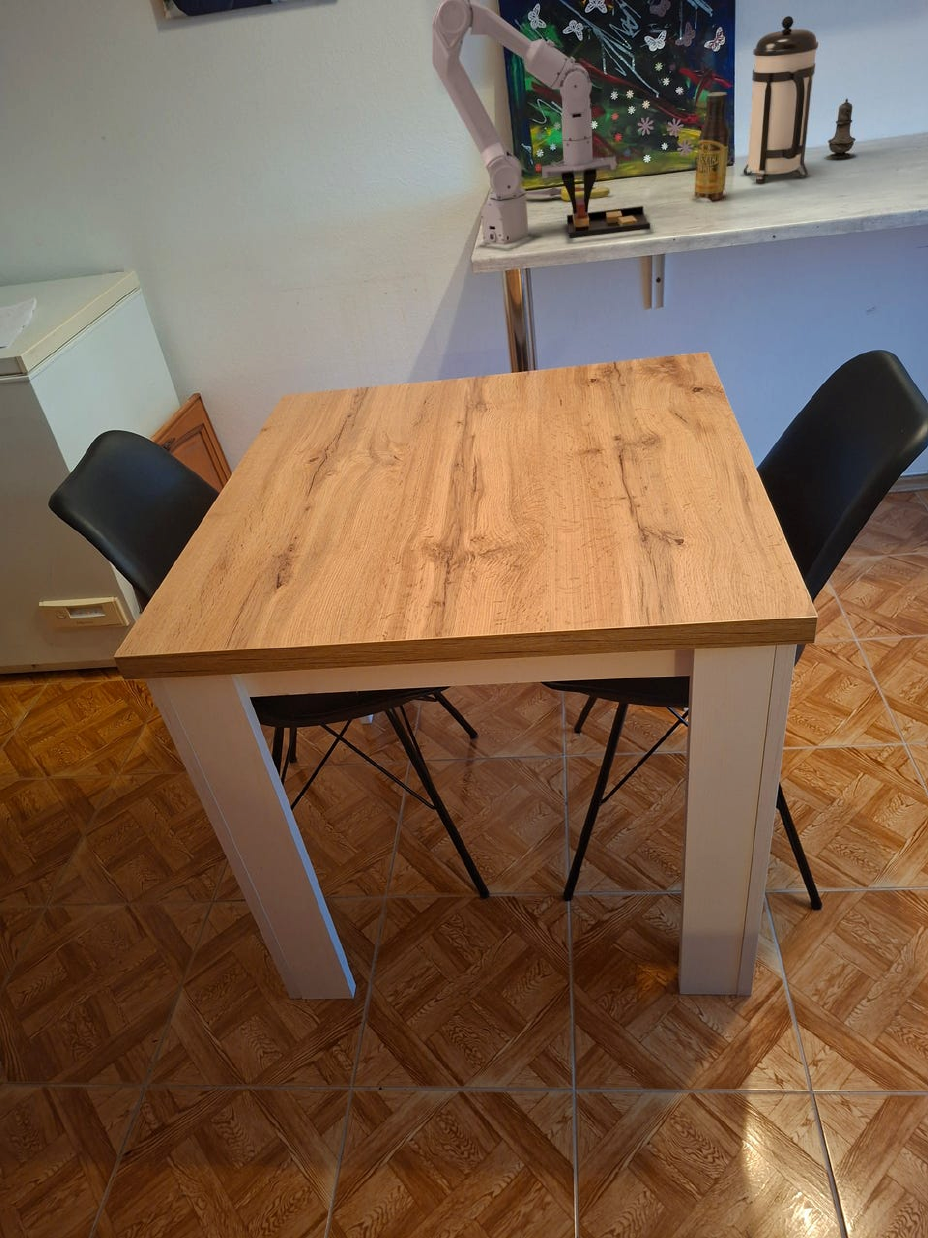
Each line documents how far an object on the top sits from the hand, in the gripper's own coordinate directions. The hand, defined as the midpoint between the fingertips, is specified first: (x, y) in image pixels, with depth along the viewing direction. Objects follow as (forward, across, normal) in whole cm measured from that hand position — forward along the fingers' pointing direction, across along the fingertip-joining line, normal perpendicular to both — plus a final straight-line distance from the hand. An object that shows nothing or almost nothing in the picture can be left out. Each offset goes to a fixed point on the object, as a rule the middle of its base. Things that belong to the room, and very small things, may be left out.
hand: (580, 211), depth 179 cm
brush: (+3, 0, 0) cm, 3 cm away
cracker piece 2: (+3, +9, -2) cm, 10 cm away
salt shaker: (+4, +62, +37) cm, 72 cm away
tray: (+4, +5, 0) cm, 7 cm away
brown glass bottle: (+4, +28, +14) cm, 32 cm away
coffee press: (+4, +45, +26) cm, 53 cm away
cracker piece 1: (+3, +7, +2) cm, 8 cm away
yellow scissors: (+4, -4, +30) cm, 31 cm away
